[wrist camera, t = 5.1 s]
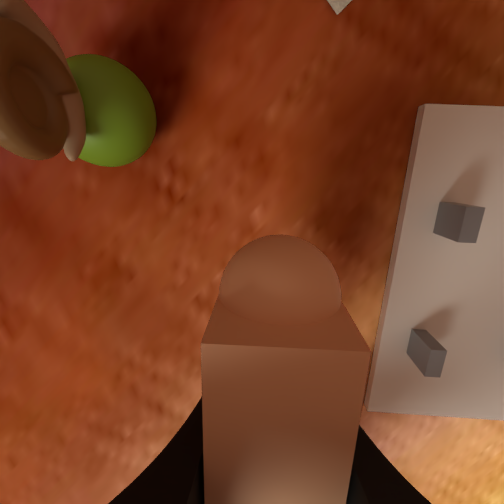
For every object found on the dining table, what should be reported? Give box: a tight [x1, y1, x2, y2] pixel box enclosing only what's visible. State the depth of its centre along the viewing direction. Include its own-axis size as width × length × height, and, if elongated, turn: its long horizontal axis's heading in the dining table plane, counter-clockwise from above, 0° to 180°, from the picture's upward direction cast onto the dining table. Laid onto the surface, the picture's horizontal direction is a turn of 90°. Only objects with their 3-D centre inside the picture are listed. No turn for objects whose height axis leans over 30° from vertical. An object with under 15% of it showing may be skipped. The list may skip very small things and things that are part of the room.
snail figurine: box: [0, 0, 157, 167], centre depth 12 cm, size 5×6×12 cm
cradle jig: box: [364, 104, 504, 420], centre depth 19 cm, size 22×12×3 cm, turn 178°
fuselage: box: [201, 235, 371, 504], centre depth 11 cm, size 14×4×6 cm, turn 178°
